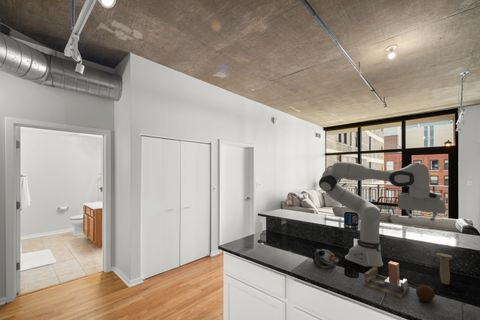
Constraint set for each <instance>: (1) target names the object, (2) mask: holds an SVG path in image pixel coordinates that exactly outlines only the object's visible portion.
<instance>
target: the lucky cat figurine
mask: <svg viewBox="0 0 480 320" xmlns="http://www.w3.org/2000/svg"><path fill="white" fill-rule="evenodd" d="M339 260H340V259H339V258H338V257H337V256H335V254H334V252H332V251H331V250H329V249H325V248H322V249H319V248H316V249H315V252H314V254H313V255H312V262H313V264H314V265H315V267H317V268H321V269H323V270H325V269H328V268H332V267H336V266H337V264H338V263H339Z"/></svg>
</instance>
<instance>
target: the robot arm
mask: <svg viewBox="0 0 480 320" xmlns="http://www.w3.org/2000/svg"><path fill="white" fill-rule="evenodd" d="M341 179H343V180H344V179H345V180H350V181H366V180H367V181H368V180H375V181H376V180H377V181H384V182H388V183H390V184H391V185H393V186H394V187H397V188H403V187H409V192H399V193H398V194H397V200H398V202H397V208H398V209H399V210H405V212H406V214H407V215H408V219H413V214H411V213H410V211H417V212H418V211H419V212H424V213H425V212H426V213H427V212H428V213H432V215H433V216H430V220H429V221H432V222H435V221H436V219H435V218H436V217H437V216H438V214H445V213H446V212H447V207H446V206H447V205H446V202H445V200H444V199H443V194H441V193H439V192H437V191H432V190H431V186H430V182H431V177H430V170H429V167H428V166H426V165H424V164H420V163H410V164H409V165H407V166H405V167H403V168H400V169H399V168H398V169H397V170H383V169H374V168H372V167H368V166H366V165H363V164H360V163H356V162H351V161H348V162H347V161H336V162H334V163H333V164H331V165H329V166H327V168H326V169H325V170H324V171H323V173H322V175H321V177H320V179H319V181H318V186H319V188H320V189H321V190H322V191H324V192H325V194H326V195H327V196H329V197H330V198H331V199H332V200H334V201H335V202H337V203H338V204H340V205H342V206H343V207H345V208H347V209H348V210H350V211H352V212H354V213H356V214H357V215H360V225H359V238H358V239H357V240H356V243H357V244H356V245H354V246H352V247H351V248H349V250H348V254H345V256H344V259H345V260H347V261H349V262H353V263H355V264H358V265H360V266H363V267H372V268H373V267H377V268H380V267H383V265H384V262H383V260H382V255H381V250H382V246H381V241H380V225H381V224H380V223H381V217H382V216H381V215H382V214H381V213H382V212H381V209H379V207H378V206H376V205H375V204H374V203H372V202H370V201H368V200H366V199H365V198H363V197H362V196H360V195H358V194H356V193H355V192H353V191H351V190H350V189H348V188H346V187H344V186H342V185H341V184H340V183H339V182H340V180H341Z"/></svg>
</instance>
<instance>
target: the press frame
mask: <svg viewBox="0 0 480 320" xmlns="http://www.w3.org/2000/svg"><path fill="white" fill-rule="evenodd" d="M378 273H379V272H378V267H373V266H372V268H370V269H369V270H368V271H366V272H365V273H364V283H365V284H364V285H365V286H366V287H368V288H371V289H375V290H378V291H379V292H380V291H381V292H383V293H386V294H389V295H392V296H395V297H398V298H400V299H402V297H403V296H405V294H406V293H407V292H408V291H409V290H410V287H409V283H408V282H407V290H406V291H405V292H404V293H403V290H402V289H399V288H396V287H393V286H390V285H387V284H384V281H385V280H386V279H387V278H388V277H389V276H384V275H381V274H378Z"/></svg>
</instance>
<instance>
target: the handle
mask: <svg viewBox="0 0 480 320" xmlns="http://www.w3.org/2000/svg"><path fill="white" fill-rule="evenodd" d="M435 256H436V257H437V258H438V259H439V277H440V282H441V283H442V284H444V285H450V282H451V281H450V280H451V273H450V265H449V263H450V262H449V261H450V260H452V259H453V255H451V254H446V253H441V252H436V253H435Z"/></svg>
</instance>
